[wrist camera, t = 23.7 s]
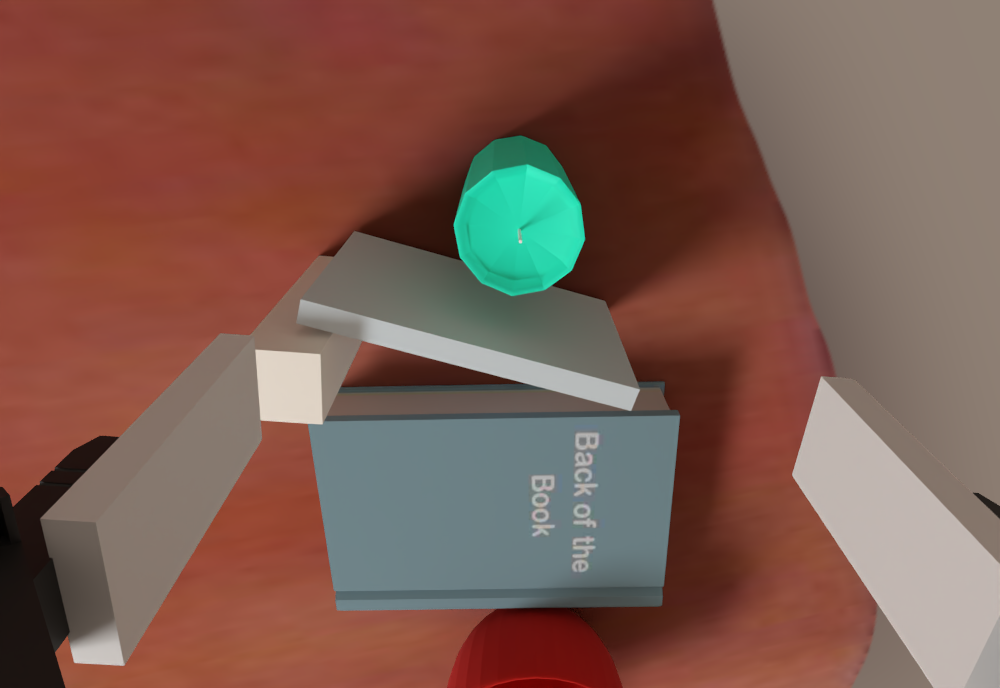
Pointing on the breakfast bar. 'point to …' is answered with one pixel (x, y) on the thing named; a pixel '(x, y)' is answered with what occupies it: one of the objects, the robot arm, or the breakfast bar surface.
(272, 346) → the door frame
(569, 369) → the door
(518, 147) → the candle
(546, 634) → the ceramic cup
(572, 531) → the book
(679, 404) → the breakfast bar surface
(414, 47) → the breakfast bar surface
